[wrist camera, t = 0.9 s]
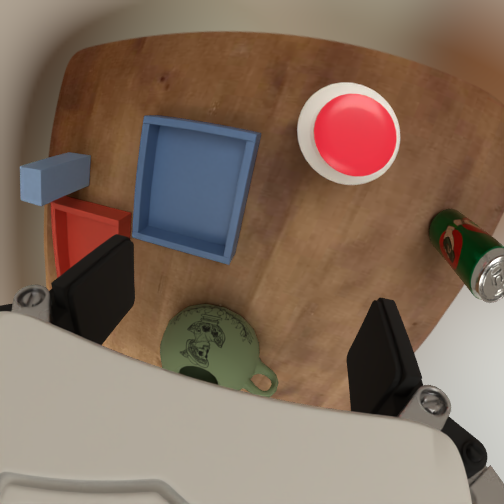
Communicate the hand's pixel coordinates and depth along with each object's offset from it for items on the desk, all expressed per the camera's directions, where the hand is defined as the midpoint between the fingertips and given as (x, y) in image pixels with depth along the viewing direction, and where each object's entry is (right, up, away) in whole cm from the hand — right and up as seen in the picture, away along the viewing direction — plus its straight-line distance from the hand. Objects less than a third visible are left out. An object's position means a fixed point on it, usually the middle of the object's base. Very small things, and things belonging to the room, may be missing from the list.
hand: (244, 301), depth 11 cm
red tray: (-21, +2, +27) cm, 34 cm away
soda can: (+22, +4, +18) cm, 29 cm away
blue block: (-22, +12, +22) cm, 34 cm away
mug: (-3, -10, +29) cm, 31 cm away
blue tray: (-6, +9, +21) cm, 23 cm away
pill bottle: (+9, +14, +16) cm, 23 cm away
